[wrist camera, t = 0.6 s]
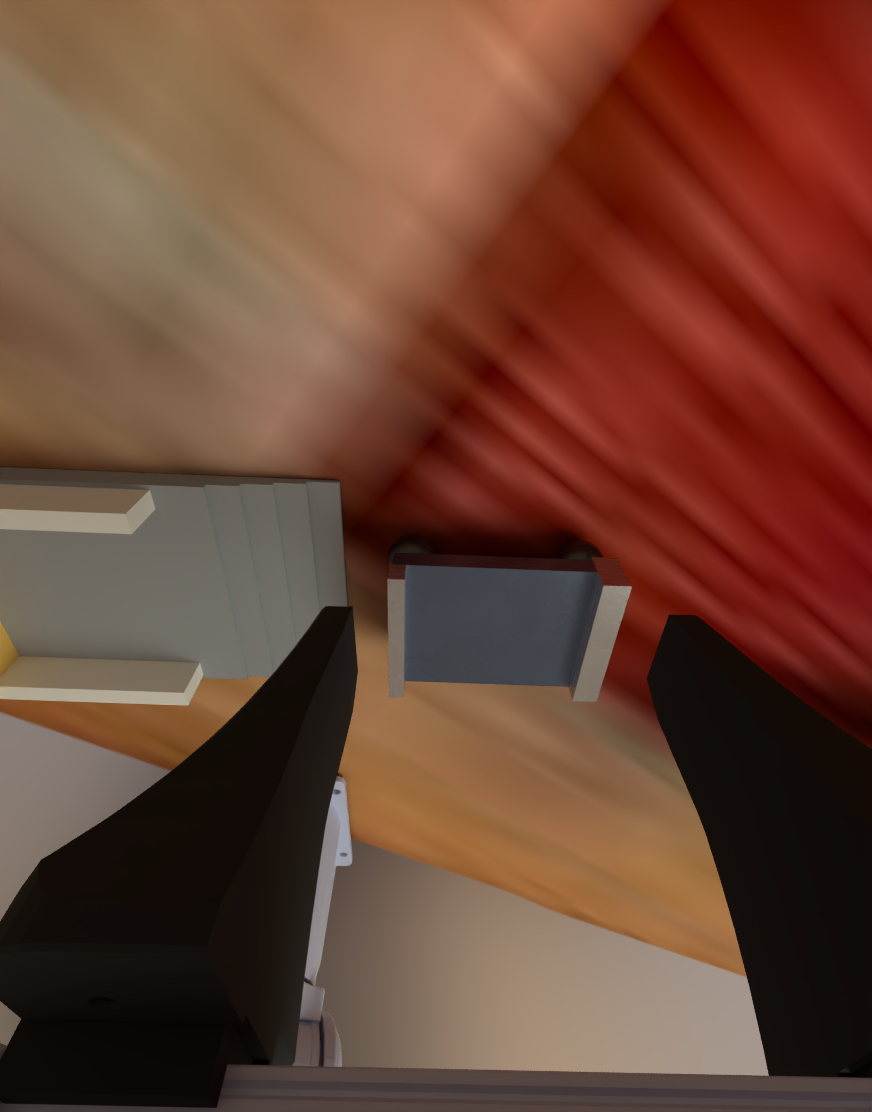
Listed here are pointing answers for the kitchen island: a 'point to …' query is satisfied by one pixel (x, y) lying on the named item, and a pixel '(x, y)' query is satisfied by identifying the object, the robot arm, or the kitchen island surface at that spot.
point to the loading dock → (158, 580)
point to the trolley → (503, 617)
